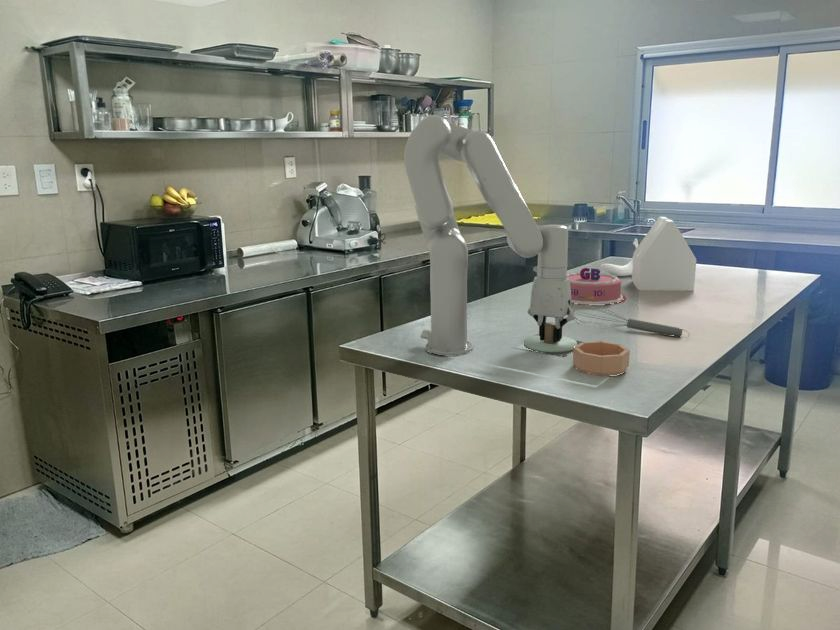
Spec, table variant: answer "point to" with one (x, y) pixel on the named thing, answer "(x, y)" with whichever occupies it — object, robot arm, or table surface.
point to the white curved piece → (620, 270)
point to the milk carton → (664, 259)
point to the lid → (549, 342)
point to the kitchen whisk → (640, 324)
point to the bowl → (601, 358)
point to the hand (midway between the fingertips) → (550, 339)
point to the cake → (595, 287)
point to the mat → (562, 352)
